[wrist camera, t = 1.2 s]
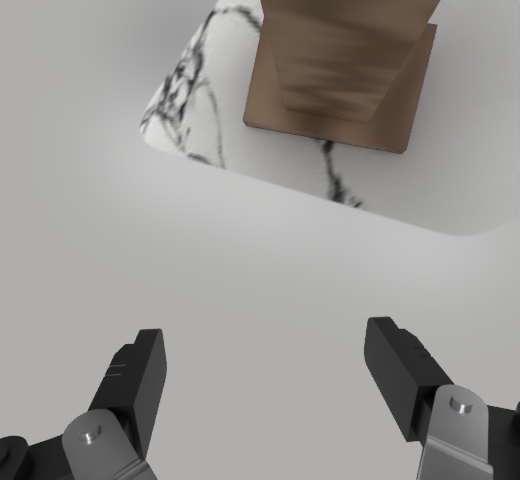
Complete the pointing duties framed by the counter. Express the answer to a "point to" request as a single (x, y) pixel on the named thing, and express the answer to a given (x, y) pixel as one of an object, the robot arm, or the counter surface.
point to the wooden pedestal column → (341, 69)
